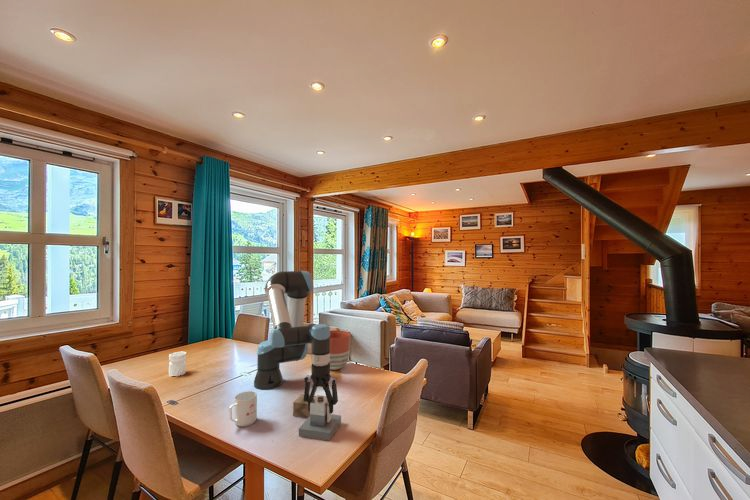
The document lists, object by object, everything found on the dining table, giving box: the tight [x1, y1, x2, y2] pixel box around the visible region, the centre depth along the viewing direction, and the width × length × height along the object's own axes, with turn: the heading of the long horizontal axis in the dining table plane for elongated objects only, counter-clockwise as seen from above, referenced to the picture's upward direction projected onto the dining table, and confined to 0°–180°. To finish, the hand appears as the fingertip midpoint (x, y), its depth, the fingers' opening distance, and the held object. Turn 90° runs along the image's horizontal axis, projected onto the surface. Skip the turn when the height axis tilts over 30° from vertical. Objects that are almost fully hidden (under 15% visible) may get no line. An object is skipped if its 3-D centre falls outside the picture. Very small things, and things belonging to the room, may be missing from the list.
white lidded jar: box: [168, 351, 187, 377], centre depth 183 cm, size 9×9×12 cm
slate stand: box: [298, 413, 342, 441], centre depth 125 cm, size 13×13×3 cm
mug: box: [228, 390, 258, 428], centre depth 129 cm, size 12×9×11 cm
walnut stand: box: [292, 393, 317, 419], centre depth 138 cm, size 8×8×6 cm
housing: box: [310, 394, 329, 427], centre depth 125 cm, size 6×7×10 cm
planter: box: [329, 329, 351, 371], centre depth 192 cm, size 20×20×21 cm
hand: (320, 419), depth 125 cm, fingers open, 7 cm apart
